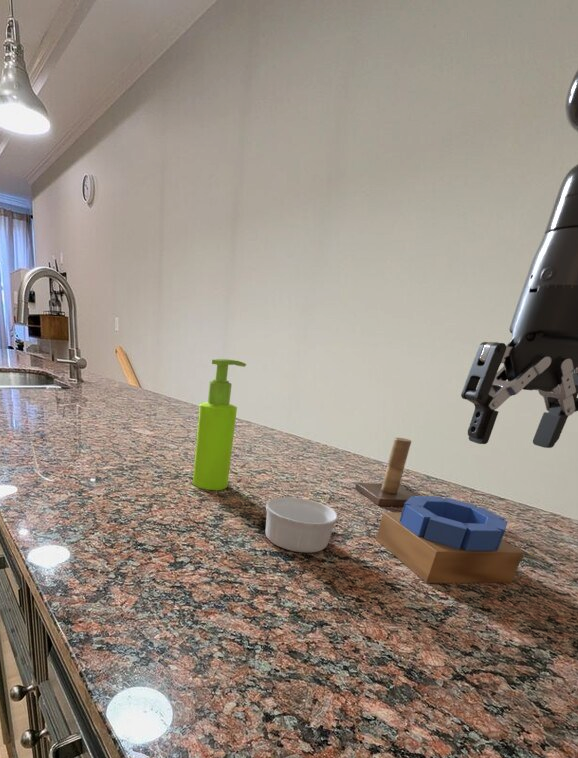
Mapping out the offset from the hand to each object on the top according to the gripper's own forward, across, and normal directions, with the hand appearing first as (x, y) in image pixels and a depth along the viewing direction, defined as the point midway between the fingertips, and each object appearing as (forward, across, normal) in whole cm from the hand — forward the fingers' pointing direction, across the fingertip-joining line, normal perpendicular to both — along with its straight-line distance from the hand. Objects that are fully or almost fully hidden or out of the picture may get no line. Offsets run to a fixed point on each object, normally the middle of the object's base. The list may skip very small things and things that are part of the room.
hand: (509, 444), depth 51 cm
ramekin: (+15, +21, -5) cm, 27 cm away
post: (+15, -2, -22) cm, 27 cm away
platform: (+15, +4, 0) cm, 15 cm away
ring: (+11, +4, 0) cm, 12 cm away
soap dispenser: (+15, +28, -26) cm, 41 cm away
